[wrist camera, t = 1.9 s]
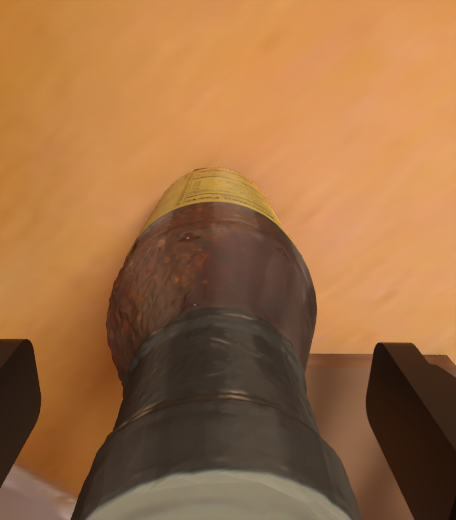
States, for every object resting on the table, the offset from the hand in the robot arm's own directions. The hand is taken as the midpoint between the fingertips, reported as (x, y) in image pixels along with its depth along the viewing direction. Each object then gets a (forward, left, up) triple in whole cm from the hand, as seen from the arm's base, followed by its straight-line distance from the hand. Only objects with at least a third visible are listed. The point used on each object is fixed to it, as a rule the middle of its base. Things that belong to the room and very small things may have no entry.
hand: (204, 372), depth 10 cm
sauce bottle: (0, 0, -15) cm, 15 cm away
